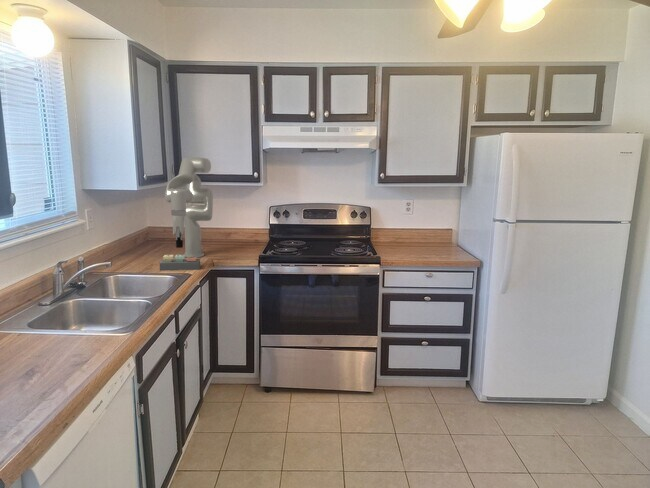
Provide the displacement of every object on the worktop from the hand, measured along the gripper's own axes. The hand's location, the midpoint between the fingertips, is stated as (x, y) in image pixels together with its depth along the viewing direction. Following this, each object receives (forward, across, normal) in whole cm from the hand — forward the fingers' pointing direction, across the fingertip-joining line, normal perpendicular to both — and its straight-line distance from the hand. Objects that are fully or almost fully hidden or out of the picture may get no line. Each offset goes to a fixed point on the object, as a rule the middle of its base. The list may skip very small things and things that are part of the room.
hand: (179, 247), depth 228 cm
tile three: (+11, -1, +6) cm, 12 cm away
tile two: (+10, -1, 0) cm, 10 cm away
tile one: (+10, -1, -6) cm, 11 cm away
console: (+12, -1, 0) cm, 12 cm away
